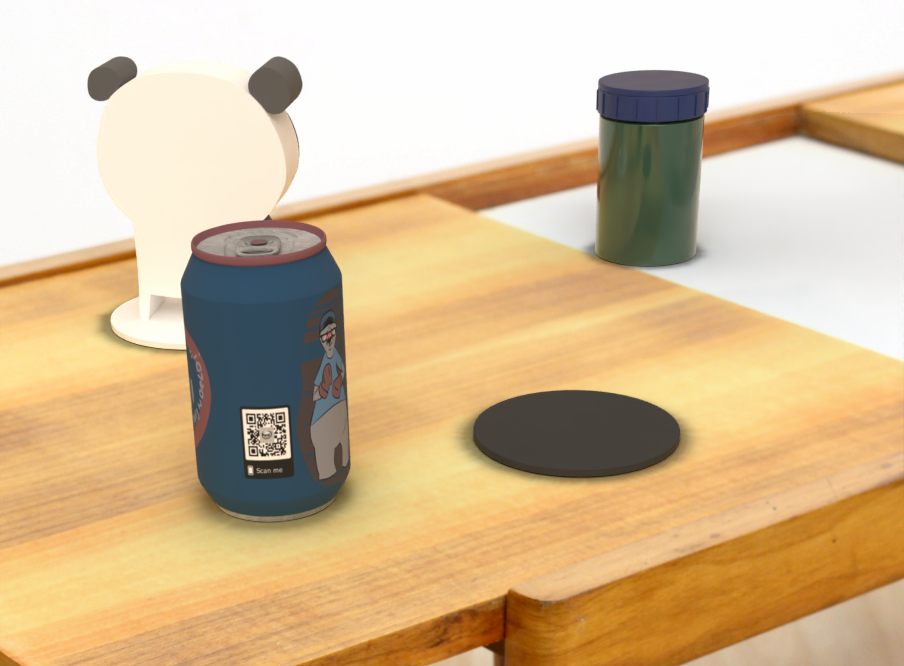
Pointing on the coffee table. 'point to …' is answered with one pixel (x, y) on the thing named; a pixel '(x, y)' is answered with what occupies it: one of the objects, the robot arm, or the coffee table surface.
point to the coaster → (576, 433)
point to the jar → (648, 190)
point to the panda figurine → (189, 167)
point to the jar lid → (652, 95)
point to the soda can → (267, 368)
